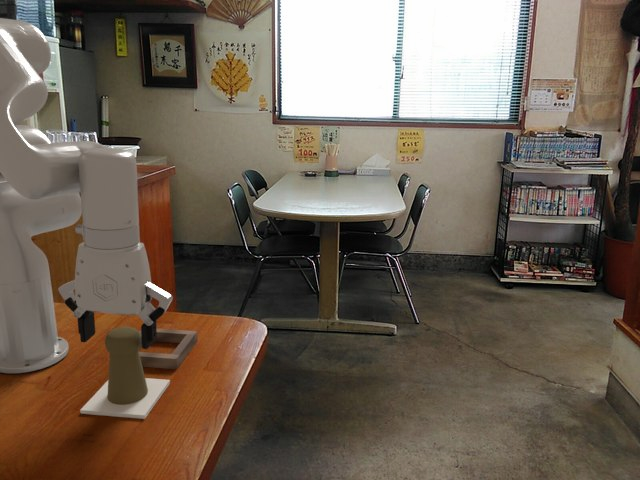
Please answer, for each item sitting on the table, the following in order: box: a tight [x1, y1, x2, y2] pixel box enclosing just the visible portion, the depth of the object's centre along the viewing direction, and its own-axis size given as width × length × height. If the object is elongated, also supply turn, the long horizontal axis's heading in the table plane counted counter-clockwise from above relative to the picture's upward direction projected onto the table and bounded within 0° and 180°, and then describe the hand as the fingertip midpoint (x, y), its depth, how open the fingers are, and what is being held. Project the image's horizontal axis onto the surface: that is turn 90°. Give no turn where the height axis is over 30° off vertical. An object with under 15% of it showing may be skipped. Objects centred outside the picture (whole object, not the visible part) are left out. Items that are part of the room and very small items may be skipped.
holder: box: [138, 328, 199, 370], centre depth 98 cm, size 11×11×2 cm
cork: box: [104, 326, 148, 405], centre depth 82 cm, size 6×6×11 cm
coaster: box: [79, 377, 171, 420], centre depth 83 cm, size 10×10×1 cm
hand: (118, 341), depth 81 cm, fingers open, 9 cm apart
